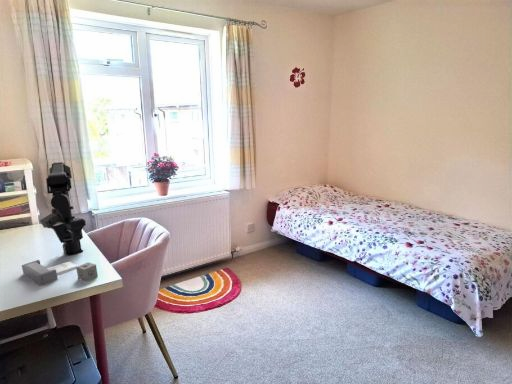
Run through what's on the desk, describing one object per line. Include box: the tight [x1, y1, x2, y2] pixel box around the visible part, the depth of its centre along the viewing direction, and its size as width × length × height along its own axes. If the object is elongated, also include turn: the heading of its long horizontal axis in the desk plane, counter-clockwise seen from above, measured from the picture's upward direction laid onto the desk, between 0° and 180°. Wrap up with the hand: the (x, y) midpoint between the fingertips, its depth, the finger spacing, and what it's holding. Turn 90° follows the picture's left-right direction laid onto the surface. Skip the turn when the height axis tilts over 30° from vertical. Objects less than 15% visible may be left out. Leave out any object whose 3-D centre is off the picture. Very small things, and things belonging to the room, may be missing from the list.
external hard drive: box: [46, 261, 78, 276], centre depth 141 cm, size 2×8×12 cm
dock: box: [21, 259, 58, 287], centre depth 136 cm, size 6×17×4 cm, turn 52°
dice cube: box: [76, 262, 98, 283], centre depth 134 cm, size 5×5×5 cm
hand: (68, 242), depth 140 cm, fingers open, 9 cm apart
